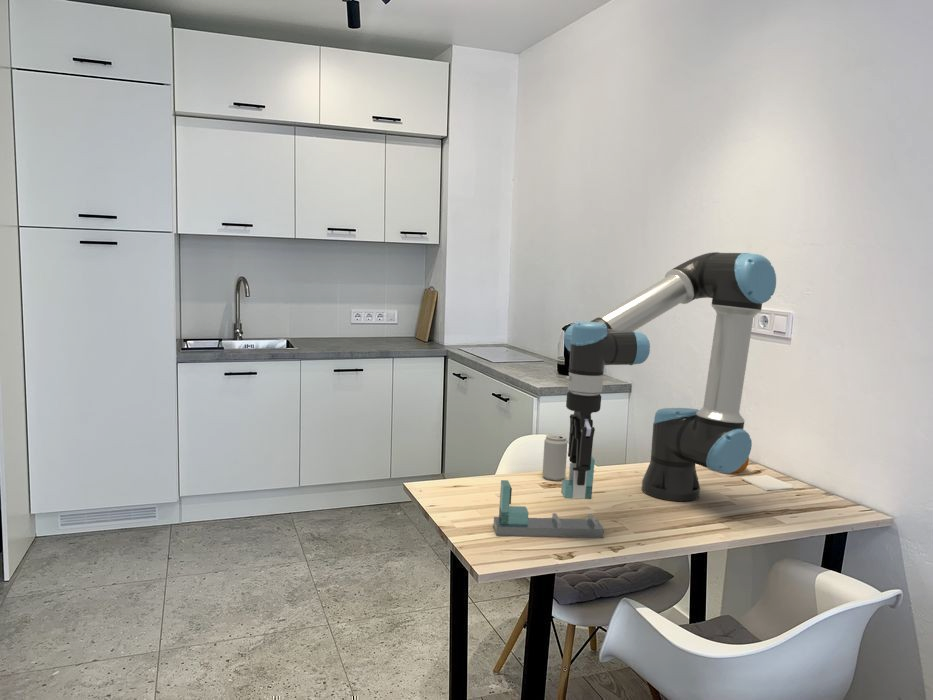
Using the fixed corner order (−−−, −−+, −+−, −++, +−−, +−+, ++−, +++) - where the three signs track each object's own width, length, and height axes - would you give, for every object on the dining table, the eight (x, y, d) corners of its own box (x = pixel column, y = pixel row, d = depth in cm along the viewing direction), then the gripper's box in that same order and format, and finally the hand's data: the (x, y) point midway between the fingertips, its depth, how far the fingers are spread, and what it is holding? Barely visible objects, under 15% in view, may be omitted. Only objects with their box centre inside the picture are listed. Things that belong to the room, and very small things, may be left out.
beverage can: (564, 482, 200) (567, 440, 198) (541, 480, 201) (543, 437, 200) (565, 475, 206) (568, 434, 205) (543, 473, 208) (546, 432, 206)
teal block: (587, 493, 165) (590, 454, 164) (591, 499, 161) (594, 459, 160) (561, 492, 165) (564, 453, 163) (564, 498, 161) (567, 458, 159)
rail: (596, 527, 167) (600, 481, 166) (603, 537, 162) (607, 490, 160) (493, 525, 166) (496, 478, 164) (496, 535, 160) (499, 487, 158)
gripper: (559, 384, 168) (552, 482, 171) (576, 399, 151) (567, 507, 154) (591, 385, 169) (583, 483, 172) (611, 400, 152) (602, 508, 155)
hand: (576, 494), depth 163 cm, fingers closed on teal block, 4 cm apart
